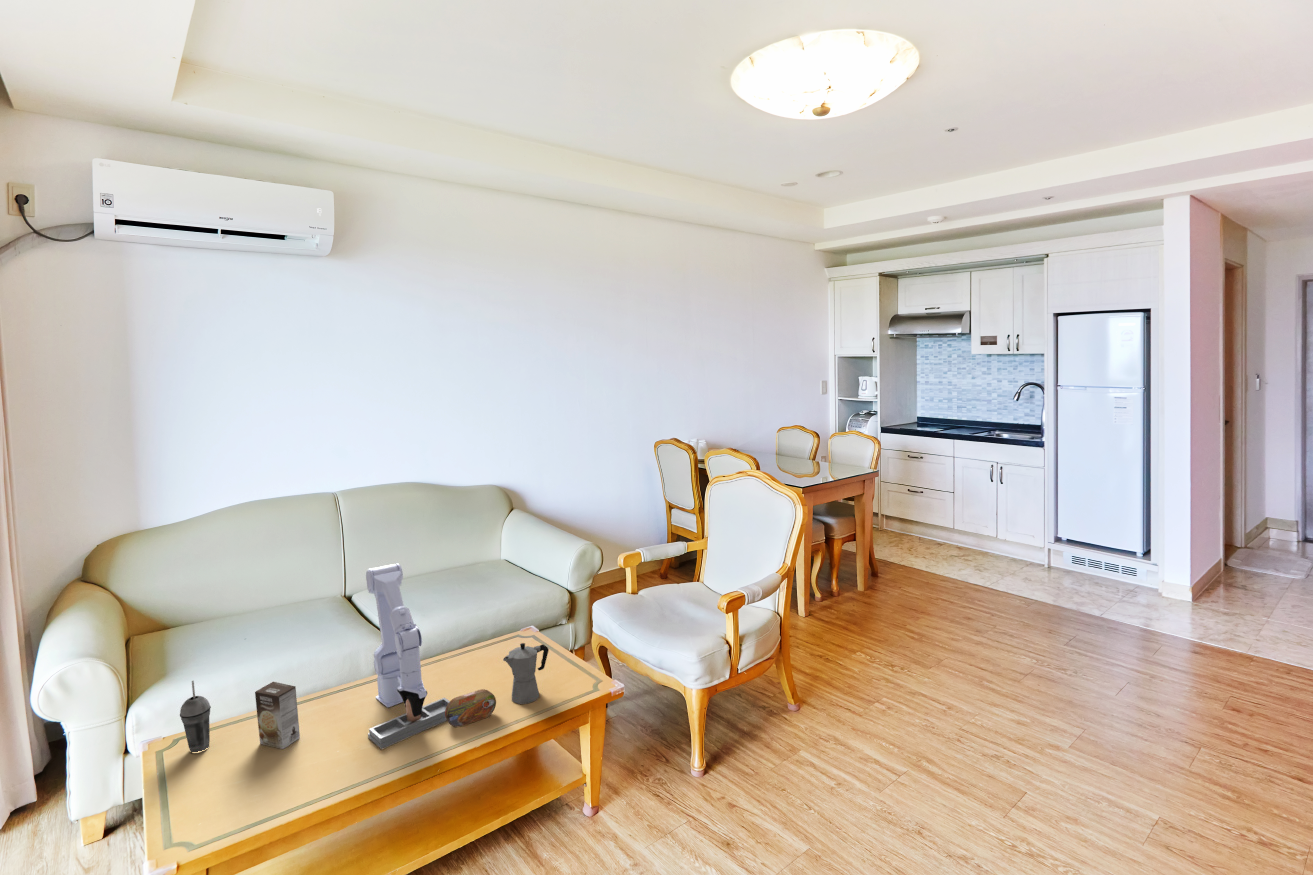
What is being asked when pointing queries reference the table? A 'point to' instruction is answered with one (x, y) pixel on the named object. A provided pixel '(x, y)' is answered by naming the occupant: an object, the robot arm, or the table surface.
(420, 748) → the table surface
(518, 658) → the coffeepot
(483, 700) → the tin
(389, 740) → the grey compartment tray
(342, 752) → the table surface
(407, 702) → the tan rounded cylinder
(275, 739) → the coffee box
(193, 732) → the beverage cup
